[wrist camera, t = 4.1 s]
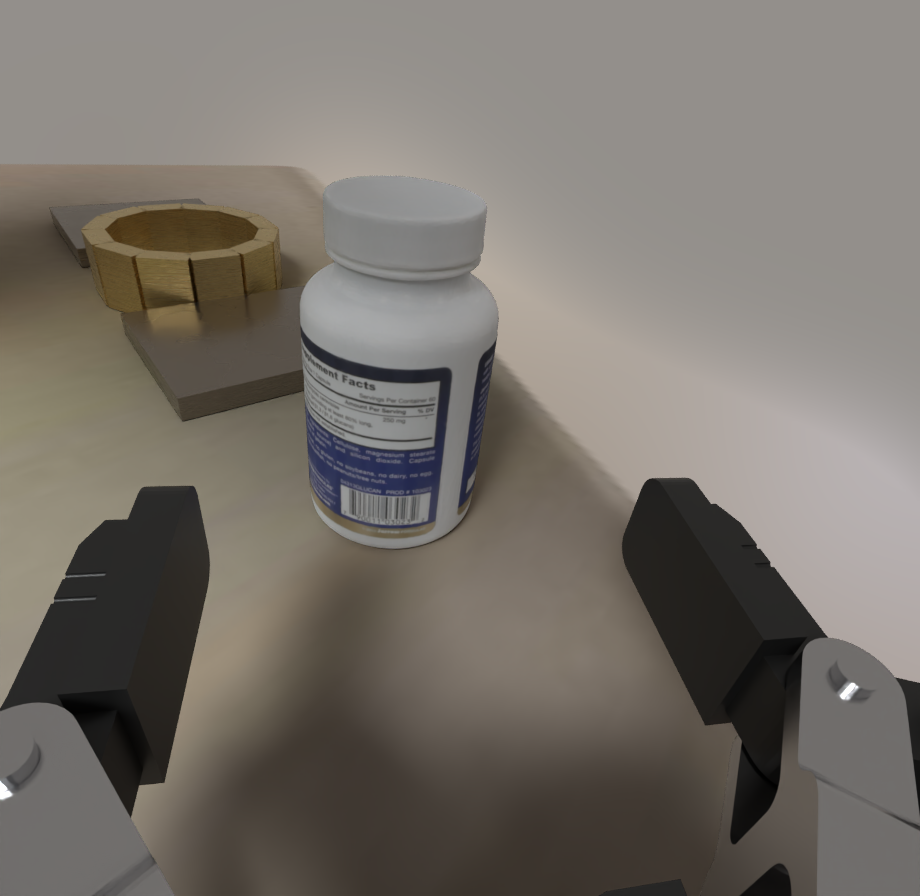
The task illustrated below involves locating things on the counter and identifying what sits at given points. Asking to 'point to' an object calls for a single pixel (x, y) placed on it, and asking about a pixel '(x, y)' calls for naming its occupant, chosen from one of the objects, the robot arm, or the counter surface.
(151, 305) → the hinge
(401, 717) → the counter surface
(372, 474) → the pill bottle
